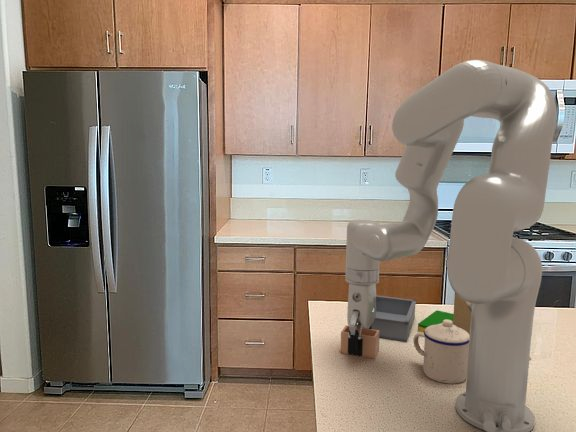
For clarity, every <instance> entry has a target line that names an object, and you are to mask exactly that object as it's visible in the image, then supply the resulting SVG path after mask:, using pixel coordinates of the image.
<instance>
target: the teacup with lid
mask: <svg viewBox="0 0 576 432" xmlns="http://www.w3.org/2000/svg"><path fill="white" fill-rule="evenodd" d="M419 337H422V338H424V347H423V348H424V349H422V348H421V347H420V344H419ZM469 337H470V335H469V334H468V332H466V331H465V330H463V329H461V328H459V327H457V326H455V325H453V322H452V321H451V320H448V319H445V320H443V323H440V324H437V325H431V326H428V327H427V328H426V329H425V331H424V333H423V332H418V333H416V334H415V335H414V337H413V347H414V349H415V351H416V352H417V353H418V354H419V355H421V356H423V366H422V369H423V370H422V371H423V372H424V374H425V376H426V377H428V378H429V379H431V380H433V381H435V382H439V383H443V384H451V385H453V384H461V383H463V382H465V381H466V380H467V366H468V351H469Z"/></svg>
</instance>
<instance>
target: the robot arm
mask: <svg viewBox="0 0 576 432" xmlns="http://www.w3.org/2000/svg"><path fill="white" fill-rule="evenodd" d="M556 106H557V105H556V101H555V98H554V95H553V93H552V91H551V90H550V88H549V86H547V84H545V83H544V82H543V81H542V80H541V79H539V78H537V77H536V76H534V75H532V74H530V73H529V72H528V73H527V72H525V71H524V70H520V69H519V68H518V69H517V68H514V67H511V66H507V65H503V64H497V63H495V62H491V61H487V60H482V59H471V60H465V61H463V62H460V63H458V64H455V65H454V66H452V67H450V68H449V69H447V70H446V71H444V72H443V73H442V74H440V75H438V77H436V78H435V79H433V80H431V81H430V82H428V83H427V84H425V85H424V86H423V87H421V88H420V89H418V90H417V91H415V92H414V93H412V94H411V95H410V96H408V97H407V98H406V99H405V100H404V101H403V102H401V104H400V105H399V107H398V108H397V109H396V111H395V112H394V115H393V118H392V123H391V124H392V125H391V129H392V133H393V137H395V140H396V141H398V142H399V143H401V145H404V146H405V148H404V149H403V150H404V151H403V153H402V155H401V158H400V160H399V162H398V166H397V168H396V170H395V173H394V174H395V175H394V176H395V180H396V181H397V182H398V183H399V184H400V185H401V186H402V187H404V188H405V189H407V190H408V194H409V204H408V206H407V210H406V212H405V214H404V217H403V219H402V221H401V222H399V221H398V222H393V223H385V224H380V223H379V222H378V221H376V220H371V219H353V220H351V221H349V222H348V223H347V226H346V244H345V245H346V247H345V251H346V252H345V282H347V283H349V284H348V293H347V294H348V296H347V297H348V298H347V314H346V315H347V317H346V318H347V326H349V328H350V329H349V334H348V354H347V355H350V356H354V357H355V356H356V357H361V358H362V352H363V339H362V332H363V328H366V329H371V328H372V323H373V321H374V319H375V317H376V295H377V285H378V284H379V283H380V262H388V261H392V260H397V259H401V258H407V257H409V256H414V255H417V254H418V253H419V252H420V251H422V250H423V248H424V247H425V245H427V243H428V241H429V238H430V237H431V234H432V233H433V230H434V228H435V226H436V222H437V220H438V215H439V199H438V197H439V195H438V191H437V189H438V187H439V184H440V182H441V180H442V177H443V175H444V174H445V170H446V168H447V165H448V164H449V161H450V159H451V157H452V155H453V153H454V150H455V148H456V146H457V144H458V141H459V138H460V136H461V134H462V132H463V129H464V125H465V119H468V118H470V117H473V118H474V117H475V118H483V119H484V118H485V119H492V120H496V121H499V123H500V126H499V129H498V131H497V133H496V135H495V138H494V139H493V144H492V148H491V159H490V164H489V170H488V173H483V174H480V175H477V176H475V177H473V178H471V179H469V180H468V181H467V182H466V183H464V185H463V186H462V187H461V188H460V190H459V191H458V194H457V196H456V198H455V201H454V203H453V208H452V214H451V216H452V217H451V225H450V234H449V240H448V251H447V263H446V268H447V269H446V274H447V278H448V282H449V285H450V287H451V289H452V290H453V292H454V294H455V293H456V294H457V295H458V296H459V297H460V298H461V299H463V300H464V301H466V302H469V303H472V304H473V307H472V313H471V324H470V337H469V351H468V366H467V378H466V380H465V382H466V383H465V384H466V386H465V391H463V392H462V393H460V394H459V395H458V396H457V397H456V399H455V409H456V411H457V413H458V414H459V416H460V417H461V418H462V419H463V420H464V421H465V422H467V423H469V424H470V425H472V426H474V427H476V428H477V429H479V430H482V431H485V432H530V431H532V430H533V428H534V427H535V420H536V419H535V415H534V413H533V411H532V410H531V409H530V408H529V407H528V406H527V405H526V403H527V391H528V380H529V379H528V378H529V367H530V361H529V357H530V358H531V356H530V355H531V354H530V353H531V345H532V336H533V325H534V314H535V310H536V303H537V298H538V295H539V291H540V288H541V283H542V278H543V277H542V275H543V265H542V259H541V257H540V254H539V253H538V252H537V250H536V249H535V247H534V246H533V245H532V244H530V243H529V242H527V241H526V240H524V239H521V238H518V237H514V232H515V233H516V232H519V231H522V230H525V229H528V228H530V227H532V226H534V225H535V224H536V223H538V221H539V220H540V219H541V217H542V214H543V212H544V208H545V201H546V194H547V193H546V192H547V185H548V178H549V171H550V165H551V155H552V147H553V146H552V145H553V141H554V134H555V129H556V121H557V107H556ZM356 328H357V329H359V333H358V330H356Z"/></svg>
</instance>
